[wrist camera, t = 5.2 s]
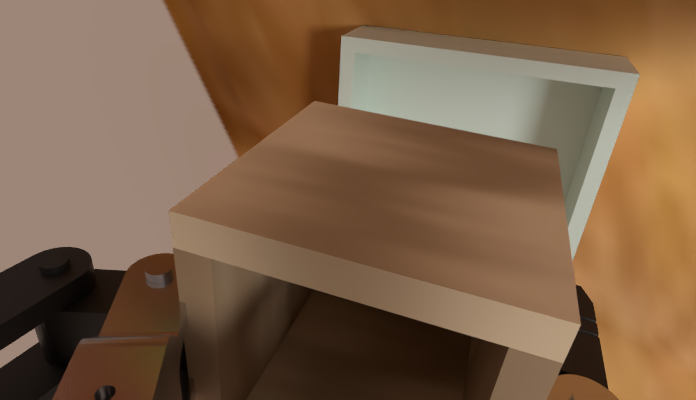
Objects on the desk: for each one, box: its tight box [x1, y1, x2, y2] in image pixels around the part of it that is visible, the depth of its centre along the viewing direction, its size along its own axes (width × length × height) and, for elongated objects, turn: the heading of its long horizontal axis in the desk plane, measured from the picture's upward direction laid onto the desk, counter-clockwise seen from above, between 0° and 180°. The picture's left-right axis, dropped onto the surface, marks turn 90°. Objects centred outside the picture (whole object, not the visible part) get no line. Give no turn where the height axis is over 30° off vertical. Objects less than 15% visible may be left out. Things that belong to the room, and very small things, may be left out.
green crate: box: [338, 25, 640, 261], centre depth 26 cm, size 13×13×4 cm
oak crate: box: [169, 101, 581, 400], centre depth 11 cm, size 6×6×6 cm
